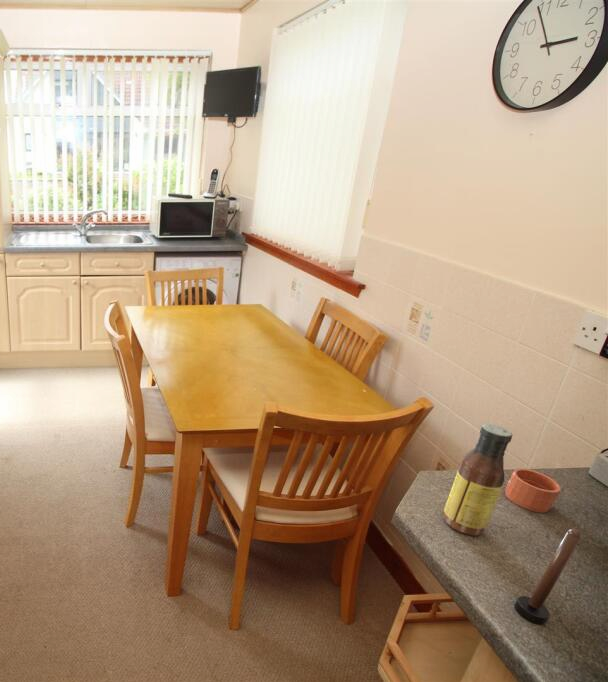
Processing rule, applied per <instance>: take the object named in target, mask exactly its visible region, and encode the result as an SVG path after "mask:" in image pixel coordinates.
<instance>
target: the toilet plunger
mask: <svg viewBox="0 0 608 682" xmlns="http://www.w3.org/2000/svg"><path fill="white" fill-rule="evenodd" d="M582 538H583V535H582V532H581V531H580V530H578V529H576V528H569V529H568V530H567V531H566V533H565V535H564V537H563V538H562V540H561V542H560V544H559V546H558V547H557V549H556V551H555V553H554V555H552V556H553V557H552V558H551V560H550V562H549V564H548V566H547V567H546V569H545V571H544V573H543V575H542V577H541V578H540V580H539V582H538V584H537V586H536V588H535V589H534V591H533V592H532V595H531V596H527V595H521V596H518V598H517V599H516V601H515V603H514V610H515V611H516V612H517V614H518V615H519V616H521V617H522V618H523V619H525V620H526V621H528V622H529V623H532V624H535V625H541V626H542V625H545V624H546V623H547V622H548V620H549V618H550V616H551V613H550V610H549V609H548V608H547V607H546V605H544V604H545V602H546V600H547V599H548V597H549V595H550V593H551V592H552V590H553V589H554V586H555V585H556V583H557V582H558V579H559V578H560V576H561V574H562V572H563V571H564V569H565V567H566V565H567V564H568V562H569V561H570V558H571V557H572V555H573V554H574V551H575V550H576V548H577V546H578V545H579V543H580V541H581V539H582Z"/></svg>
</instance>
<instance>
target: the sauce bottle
mask: <svg viewBox="0 0 608 682" xmlns="http://www.w3.org/2000/svg"><path fill="white" fill-rule="evenodd" d="M479 434H480V435H479V437H478V441H477V443H476V444H475V447H474V448H473V449H471V450H469V451H468V452H466V453H465V454H464V456H463V457H462V459H461V463H460V465H459V468H458V469H457V471H456V474H455V478H454V480H453V483H452V485H451V489H450V491H449V495H448V498H447V500H446V503H445V505H444V508H443V520H444V522H445V523H446V524H447V525H449V526H450V527H451V528H452V529H453V530H455V531H457V532H459V533H461V534H464V535H468V536H473V537H475V536H480V535H482V534H484V531H485V529H486V528H487V526H488V524H489V521H490V519H491V516H492V514H493V511H494V508H495V506H496V503H497V501H498V499H499V497H500V493H501V490H502V488H503V486H504V482H505V471H504V469H505V468H504V457H505V453H506V450H507V447H508V445H509V443H511V442H512V438H513V432H512V431H510V430H509V429H508V428H506V427H503V426H501V425H497V424H492V423H484V424H482V425H481V428H480V430H479Z"/></svg>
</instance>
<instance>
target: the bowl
mask: <svg viewBox="0 0 608 682" xmlns="http://www.w3.org/2000/svg"><path fill="white" fill-rule="evenodd" d="M561 491H562V487H561V484H559V483H558V482H557V481H556V480H555V479H553V478H551V477H550V476H548V475H546V474H544V473H541V472H540V471H539V472H538V471H536V470H533V469H528V468H516V469H513V472H512V474H511V476H510V478H509V480H508V482H507V485H506V486H505V492H504V493H505V496H506V498H507V499H508V500H510V501H511V502H512V503H514V504H515V505H516V506H519V507H521V508H522V509H525V510H528V511H531V512H535V513H540V514H542V513H548V512H549V511H550V509H551V510H552V508H553V506H554V505H555V503H556V501H557V499H558V497H559V495H560V493H561Z"/></svg>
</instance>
